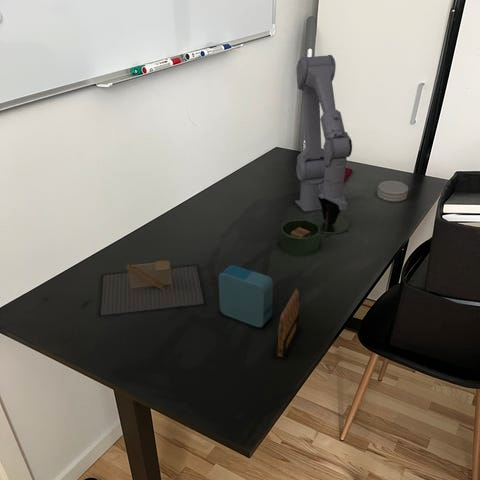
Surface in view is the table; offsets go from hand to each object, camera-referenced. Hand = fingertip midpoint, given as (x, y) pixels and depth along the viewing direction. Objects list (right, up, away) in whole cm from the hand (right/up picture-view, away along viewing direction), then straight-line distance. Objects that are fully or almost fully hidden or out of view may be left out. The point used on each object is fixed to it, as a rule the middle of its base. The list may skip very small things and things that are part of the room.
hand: (329, 221), depth 153 cm
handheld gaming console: (+7, +22, +30) cm, 38 cm away
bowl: (-10, -8, -7) cm, 15 cm away
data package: (-26, -29, -33) cm, 51 cm away
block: (-10, -8, -8) cm, 15 cm away
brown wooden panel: (-17, -35, -40) cm, 56 cm away
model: (-50, -22, -24) cm, 60 cm away
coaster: (+24, +12, +18) cm, 32 cm away
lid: (0, -1, +1) cm, 1 cm away
